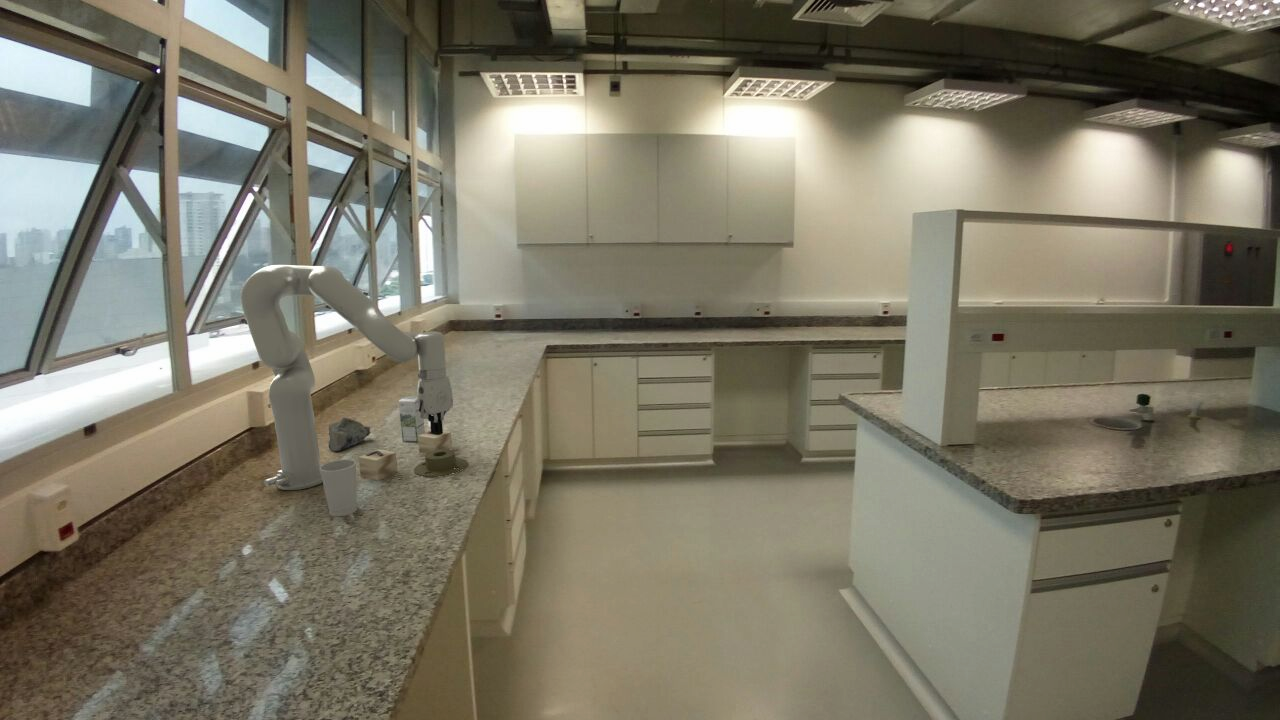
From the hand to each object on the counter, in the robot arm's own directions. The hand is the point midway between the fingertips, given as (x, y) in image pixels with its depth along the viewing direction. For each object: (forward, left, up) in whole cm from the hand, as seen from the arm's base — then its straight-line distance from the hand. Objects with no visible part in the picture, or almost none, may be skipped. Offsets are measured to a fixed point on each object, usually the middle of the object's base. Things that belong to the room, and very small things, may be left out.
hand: (437, 433), depth 176 cm
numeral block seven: (-14, +10, -9) cm, 19 cm away
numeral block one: (+7, +9, -9) cm, 15 cm away
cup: (-35, -2, -9) cm, 36 cm away
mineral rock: (0, +39, -10) cm, 40 cm away
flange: (-3, -3, -10) cm, 11 cm away
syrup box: (+13, +25, -9) cm, 30 cm away
